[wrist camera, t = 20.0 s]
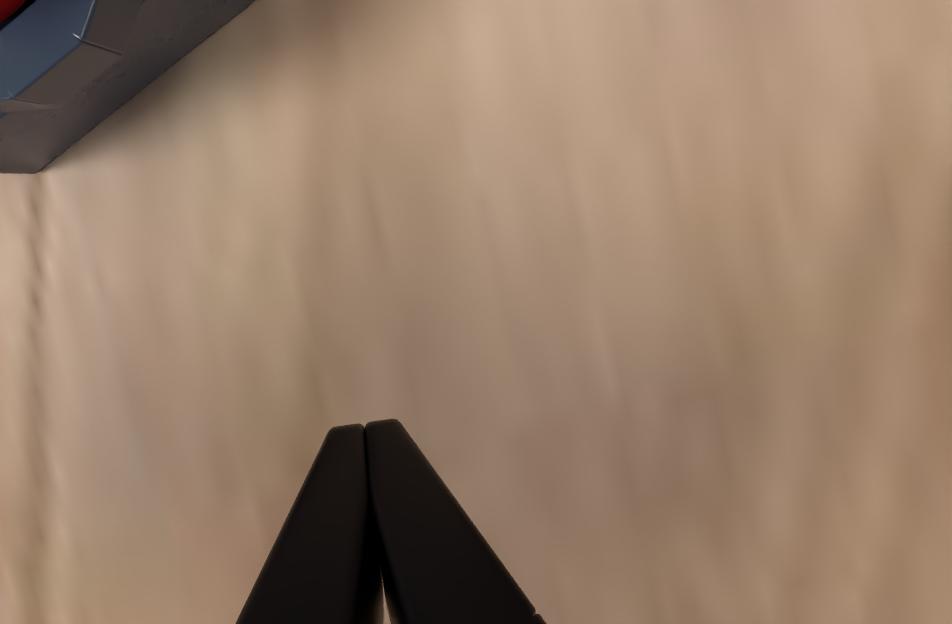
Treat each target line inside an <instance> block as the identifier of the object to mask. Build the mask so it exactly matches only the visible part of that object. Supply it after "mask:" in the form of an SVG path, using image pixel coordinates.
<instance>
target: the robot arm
mask: <svg viewBox="0 0 952 624" xmlns="http://www.w3.org/2000/svg"><path fill="white" fill-rule="evenodd" d="M382 579H383V584H382ZM383 586H384V592H385V598H386V603H387V608H388V613H389V618H390V622H391V624H546V622H545V621H544V620H543V618H542V617H541V616H540V615H539V614H535V612H536V611H535V608H534V606H533V605H532V604H531V602H530V601H529V600H528V598H527V597H526V595H525V594H524V593H523V591H522V590H521V588H520V587H519V586H518V584H517V583H516V582H515V580H514V579H513V577H512V576H511V575H510V573H509V572H508V571H507V569H506V568H505V566H504V565H503V564H502V562H501V561H500V559H499V558H498V557H497V555H496V554H495V553H494V551H493V550H492V548H491V547H490V546H489V544H488V543H487V542H486V540H485V539H484V537H483V536H482V535H481V533H480V532H479V530H478V529H477V528H476V526H475V525H474V524H473V522H472V521H471V519H470V518H469V517H468V515H467V514H466V513H465V511H464V510H463V508H462V507H461V506H460V504H459V503H458V501H457V500H456V499H455V497H454V496H453V495H452V493H451V492H450V490H449V489H448V488H447V486H446V485H445V484H444V482H443V481H442V479H441V478H440V477H439V475H438V474H437V472H436V471H435V470H434V468H433V467H432V466H431V464H430V463H429V461H428V460H427V459H426V457H425V456H424V455H423V453H422V452H421V450H420V449H419V448H418V446H417V445H416V443H415V442H414V441H413V439H412V438H411V437H410V435H409V434H408V432H407V431H406V430H405V428H404V427H403V425H402V424H401V423H400V422H399V421H398V420H396V419H388V420H380V421H373V422H368V423H367V424H366V426H365V429H364V426H363V425H362V424H351V425H344V426H337V427H333V428H331V429H330V430H329V432H328V434H327V436H326V438H325V440H324V442H323V444H322V446H321V448H320V450H319V452H318V454H317V456H316V458H315V460H314V462H313V464H312V467H311V469H310V471H309V473H308V475H307V477H306V479H305V481H304V483H303V485H302V487H301V489H300V491H299V493H298V496H297V498H296V500H295V502H294V504H293V506H292V508H291V510H290V512H289V514H288V516H287V518H286V520H285V522H284V524H283V527H282V529H281V531H280V533H279V535H278V537H277V539H276V541H275V543H274V545H273V547H272V549H271V551H270V553H269V555H268V558H267V560H266V562H265V564H264V566H263V568H262V570H261V572H260V574H259V576H258V578H257V580H256V582H255V584H254V587H253V589H252V591H251V593H250V595H249V597H248V599H247V601H246V603H245V605H244V607H243V609H242V611H241V613H240V615H239V618H238V620H237V622H236V624H383V618H384V610H383Z"/></svg>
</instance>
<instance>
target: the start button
mask: <svg viewBox="0 0 952 624" xmlns="http://www.w3.org/2000/svg"><path fill="white" fill-rule="evenodd" d="M25 1H26V0H0V23H1V22H3V21H4V20H5V19H7V18H8V17H10V16H11V15H12V14H14V13H15V12H16V11H17V10H18V9H19V8H20V7H21V6H22V5H23V4H24V2H25Z"/></svg>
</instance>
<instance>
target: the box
mask: <svg viewBox="0 0 952 624" xmlns="http://www.w3.org/2000/svg"><path fill="white" fill-rule="evenodd" d="M253 1H254V0H26V1H25V2H24V4H23V5H22V6H21V7H20V8H19V9H18V10H17V11H16V12H15V13H14V14H12V15H11V16H10V17H8V18H7V19H5V20H4V21H3V22H1V23H0V173H18V174H35V173H37V172H38V171H39V170H41V169H42V168H43V167H44V166H46V165H47V164H48V163H49V162H51V161H52V160H53V159H54V158H56V157H57V156H58V155H60V154H61V153H62V152H63V151H65V150H66V149H67V148H68V147H70V146H71V145H72V144H73V143H75V142H76V141H77V140H78V139H80V138H81V137H82V136H84V135H85V134H86V133H87V132H89V131H90V130H91V129H92V128H94V127H95V126H96V125H97V124H99V123H100V122H101V121H102V120H104V119H105V118H106V117H108V116H109V115H110V114H111V113H113V112H114V111H115V110H116V109H118V108H119V107H120V106H121V105H123V104H124V103H125V102H126V101H128V100H129V99H130V98H132V97H133V96H134V95H135V94H137V93H138V92H139V91H140V90H142V89H143V88H144V87H145V86H147V85H148V84H149V83H150V82H152V81H153V80H154V79H156V78H157V77H158V76H159V75H161V74H162V73H163V72H164V71H166V70H167V69H168V68H169V67H171V66H172V65H173V64H175V63H176V62H177V61H178V60H180V59H181V58H182V57H183V56H185V55H186V54H187V53H188V52H190V51H191V50H192V49H193V48H195V47H196V46H197V45H199V44H200V43H201V42H202V41H204V40H205V39H206V38H207V37H209V36H210V35H211V34H212V33H214V32H215V31H216V30H217V29H219V28H220V27H221V26H223V25H224V24H225V23H226V22H228V21H229V20H230V19H231V18H233V17H234V16H235V15H236V14H238V13H239V12H240V11H241V10H243V9H244V8H245V7H247V6H248V5H249V4H250V3H252V2H253Z"/></svg>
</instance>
